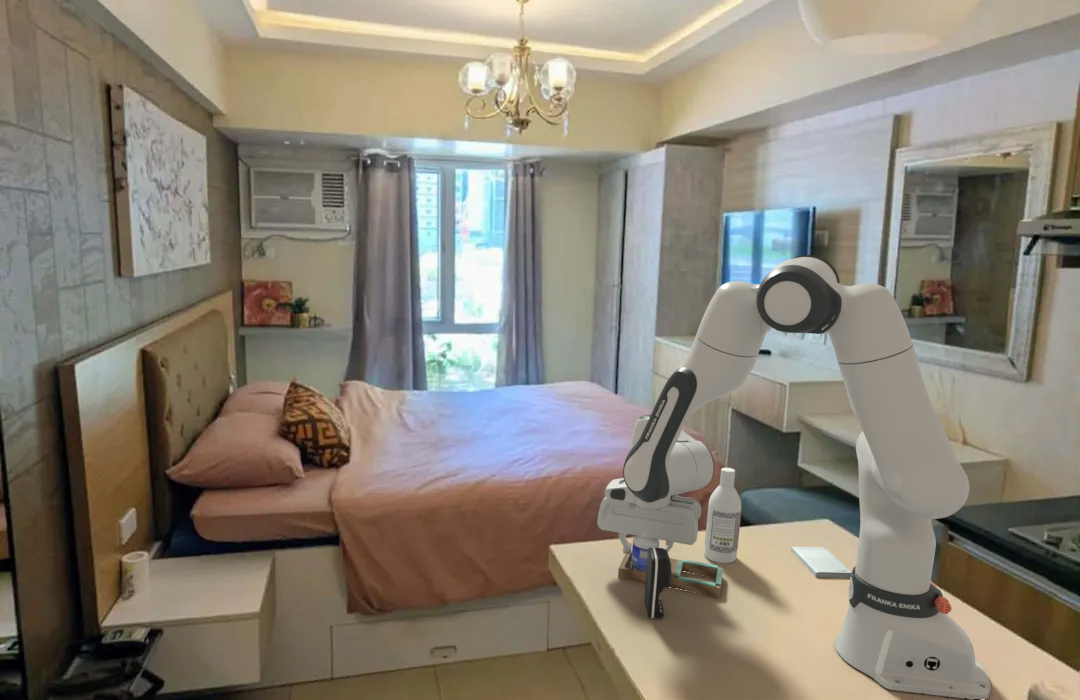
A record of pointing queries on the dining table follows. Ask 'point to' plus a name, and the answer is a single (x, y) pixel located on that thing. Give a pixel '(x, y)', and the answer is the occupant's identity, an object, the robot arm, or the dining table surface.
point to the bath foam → (723, 520)
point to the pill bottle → (642, 550)
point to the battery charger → (656, 580)
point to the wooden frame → (676, 573)
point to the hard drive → (821, 562)
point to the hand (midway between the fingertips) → (644, 555)
